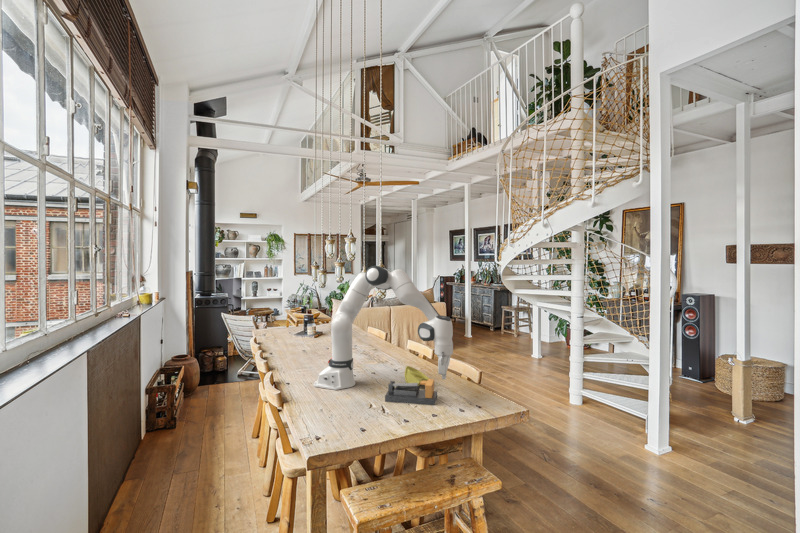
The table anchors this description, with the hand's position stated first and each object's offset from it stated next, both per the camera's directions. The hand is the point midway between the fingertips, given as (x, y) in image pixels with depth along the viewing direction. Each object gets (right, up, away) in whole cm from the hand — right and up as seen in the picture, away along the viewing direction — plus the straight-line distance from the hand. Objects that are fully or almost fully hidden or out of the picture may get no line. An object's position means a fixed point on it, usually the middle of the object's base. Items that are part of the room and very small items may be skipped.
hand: (444, 378), depth 189 cm
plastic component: (-11, -11, +28) cm, 32 cm away
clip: (-8, -8, +2) cm, 12 cm away
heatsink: (-16, -11, +3) cm, 19 cm away
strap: (-19, -5, +4) cm, 20 cm away
